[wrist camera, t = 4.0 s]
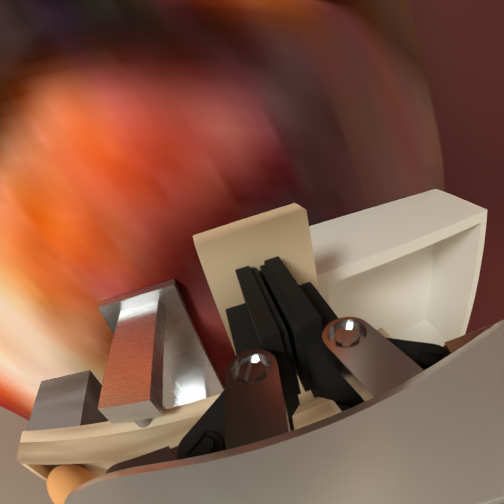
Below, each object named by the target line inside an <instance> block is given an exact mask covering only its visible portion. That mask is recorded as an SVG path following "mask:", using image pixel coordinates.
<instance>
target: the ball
mask: <svg viewBox="0 0 504 504" xmlns="http://www.w3.org/2000/svg"><path fill="white" fill-rule="evenodd" d="M94 478H96V477H95V476H94V475H93V474H92V473H91V472H89V471H88V470H86V469H85V468H83V467H80V466H77V465H73V464H64V465H60V466H57V467H56V468H54V469H53V470H52V471H51V472H50V474H49V476H48V479H47V490H48V493H49V495H50V497H51V499H52V501H53V502H54V503H55V504H64V502H65V500H66V498H67V497H68V495H69V494H70V493H71V492H72V491H73V490H74V489H75V488H77V487H78V486H80V485H82V484H83V483H85V482H87V481H89V480H92V479H94Z"/></svg>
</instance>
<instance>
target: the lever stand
mask: <svg viewBox="0 0 504 504" xmlns="http://www.w3.org/2000/svg"><path fill="white" fill-rule="evenodd" d="M98 308H99V310H100V312H101V313H102V315H103V317H104V318H105V320H106V322H107V324H108V325H109V327H110V329H111V330H112V332H113V334H114V337H113V341H112V345H111V349H110V353H109V357H108V361H107V366H106V370H105V374H104V379H103V384H102V389H101V394H100V399H99V404H98V410H99V411H100V412H101V413H102V414H103V415H104V416H105V417H106V418H107V419H108V420H109V421H110V422H111V423H112V424H116V423H123V422H131V421H137V420H144V419H150V418H155V417H161V416H163V406H164V407H165V408H166V409H168V408H172V407H176V406H180V405H183V404H187V403H191V402H194V401H198V400H201V399H205V398H208V397H211V396H215V395H218V394H221V393H222V392H223V391H224V390H225V387H224V385H223V383H222V381H221V379H220V377H219V375H218V373H217V371H216V369H215V367H214V365H213V363H212V361H211V359H210V357H209V355H208V353H207V351H206V349H205V347H204V345H203V342H202V340H201V338H200V336H199V334H198V332H197V329H196V327H195V325H194V323H193V321H192V318H191V316H190V314H189V312H188V309H187V307H186V305H185V302H184V300H183V298H182V295H181V293H180V291H179V288H178V286H177V284H176V281H175V279H172V280H169V281H166V282H162V283H159V284H156V285H153V286H149V287H146V288H143V289H140V290H136V291H133V292H130V293H127V294H123V295H120V296H117V297H113V298H110V299H107V300H104V301H101V302H100V304H99V307H98Z"/></svg>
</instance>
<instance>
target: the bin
mask: <svg viewBox="0 0 504 504" xmlns="http://www.w3.org/2000/svg"><path fill="white" fill-rule="evenodd" d="M486 221H487V210H486V209H484V208H482V207H480V206H477V205H475V204H472V203H470V202H468V201H466V200H463V199H461V198H458V197H456V196H453V195H451V194H448V193H446V192H443V191H441V190H438V189H433V190H430V191H427V192H423V193H420V194H416V195H413V196H409V197H406V198H403V199H399V200H396V201H393V202H389V203H386V204H382V205H379V206H376V207H372V208H369V209H365V210H362V211H359V212H355V213H352V214H349V215H345V216H342V217H339V218H335V219H332V220H329V221H325V222H322V223H319V224H315V225H312V226H309V229H310V235H311V242H312V248H313V254H314V261H315V267H316V274H317V281H318V288H319V293H320V295H321V296H322V297H323V298H324V300H325V301H326V302H327V304H328V305H329V306H330V308H331V309H332V310H333V311H334V313H335V314H336V315H337V317H338V318H343V317H357V318H360V319H363V320H364V321H366V322H367V323H369V324H370V325H371V326H372V327H373V328H375V329H376V330H378V329H380V328H383V329H384V330H385V331H386V332H387V333H388V334H389V335H390V336H391V337H392V338H393V339H400V340H408V341H416V342H424V343H432V344H437V345H440V346H444V343H445V342H447V341H450V340H453V339H455V338H458V337H461V336H463V335H465V333H466V329H467V325H468V322H469V318H470V314H471V310H472V306H473V302H474V298H475V293H476V288H477V283H478V278H479V273H480V267H481V261H482V254H483V247H484V239H485V231H486Z"/></svg>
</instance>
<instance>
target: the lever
mask: <svg viewBox="0 0 504 504" xmlns="http://www.w3.org/2000/svg"><path fill="white" fill-rule="evenodd" d="M193 239H194V244H195V247H196V250H197V253H198V256H199V259H200V262H201V265H202V267H203V270H204V273H205V276H206V278H207V281H208V284H209V287H210V289H211V292H212V295H213V298H214V300H215V303H216V306H217V308H218V311H219V313H220V316H221V319H222V321H223V324H224V327H225V329H226V332H227V334H228V337H229V339H230V342H231V344H232V347H233V349H234V352H235V354H236V351H235V347H234V343H233V339H232V335H231V331H230V327H229V323H228V319H227V314H226V309H227V308H231V307H234V306H237V305H240V304H243V303H245V301H244V298H243V294H242V291H241V288H240V285H239V281H238V278H237V275H236V271H235V270H236V269H239V268H242V267H245V266H250V268H251V269H252V268H255V267H256V268H257V270H258V272H259V274H260V276H261V278H262V280H263V277H262V273H261V269H260V266H261V265H265V264H264V261H265V260H268V259H271V258H274V257H277V256H279V257H280V259H281V260H282V262H283V263H284V264H285V266H286V267H287V269H288V270H289V272H290V273H291V274H292V276H293V277H294V279H295V280H296V282H297V283H298V284H299V285H301V284H304V283H307V282H311V283H312V284H313V285H314V287H315V288H316V289H317V291H318V292H319V288H318V281H317V274H316V267H315V261H314V254H313V248H312V242H311V235H310V229H309V224H308V218H307V212H306V209H304V208H302V207H301V206H299V205H298V204H296V203H293V204H290V205H287V206H284V207H280V208H277V209H274V210H271V211H267V212H264V213H261V214H258V215H255V216H252V217H248V218H245V219H242V220H239V221H236V222H233V223H230V224H227V225H224V226H221V227H217V228H214V229H211V230H208V231H205V232H202V233H199V234H196V235H193ZM263 283H264V281H263ZM377 331H378V332H379V333H381V334H382V335H383V336H384V337H386V338H392V337H391V336H390V335H389V334H388V333H387V332H386V331H385V330H384V329H383V328H380V329H378V330H377ZM297 377H298V375H297ZM298 381H299V386H300V391H301V394H299V395H298V398H299V402H300V405H299V406H298V408H297V409H296V411H295V413H294V414H293V416H292V417H293V421H294V426H295V430H296V429H299V428H302V427H304V426H307V425H310V424H313V423H315V422H318V421H320V420H323V419H326V418H328V417H331V416H333V415H335V414H337V413H336V411H335V410H334V409H333V408H332V406H331V404H330V402H329V399H325V398H321V397H316V398H314V396H313V394H312V392H311V390H310V391H307V392H305V390H304V388H303V386H302V384H301V382H300V380H299V378H298ZM101 389H102V385H101V384H100V382H99V381H98V380H97V379H96V377H95V376H94V375H93V373H92V372H91V371H90V370H88V371H84V372H80V373H76V374H72V375H67V376H63V377H59V378H54V379H50V380H45V381H41V384H40V387H39V390H38V394H37V397H36V400H35V404H34V407H33V410H32V414H31V418H30V421H29V425H28V429H27V431H23V432H22V436H21V440H20V445H19V449H18V454H17V458H16V460H17V461H19V462H20V463H21V464H22V465H24V466H25V467H26V468H28V469H29V470H30V471H32V472H33V473H34V474H36V475H37V476H39V477H40V478H42V479H43V480H45V481H46V482H47V479H48V476H49V474H50V472H51V471H52V470H53V469H54V468H56V467H57V466H60V465H64V464H73V465H77V466H80V467H83V468H85V469H86V470H88V471H89V472H91V473H92V474H93V475H94V476H95V477H99V476H101V475H104V474H105V473H106V471H107V470H108V469H109V468H110V467H111V466H113V465H115V464H117V463H120V462H123V461H127V460H130V459H133V458H136V457H139V456H142V455H145V454H148V453H151V452H153V451H156V450H159V449H162V448H164V447H167V446H170V447H171V448H174V447H176V446H178V445H179V443H180V441H181V440H182V438H183V437H184V436H185V435H186V434H187V433H188V432H189V430H190V429H191V428H192V427H193V426H194V425H195V424H196V422H197V421H198V420H199V419H200V418H201V417H202V416H203V414H204V413H205V412H206V411H207V410H208V409H209V407H210V406H211V405H212V404H213V403H214V402H215V400H216V399H217V398H218V397H219V396H220V394H218V395H215V396H211V397H208V398H205V399H201V400H198V401H194V402H191V403H187V404H183V405H180V406H176V407H172V408H168V409H164V410H163V416H161V417H155V418H150V419H144V420H137V421H131V422H123V423H116V424H112V423H111V422H110V421H109V420H108V419H107V418H106V417H105V416H104V415H103V414H102V413H101V412H100V411H99V410H98V404H99V399H100V394H101Z"/></svg>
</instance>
